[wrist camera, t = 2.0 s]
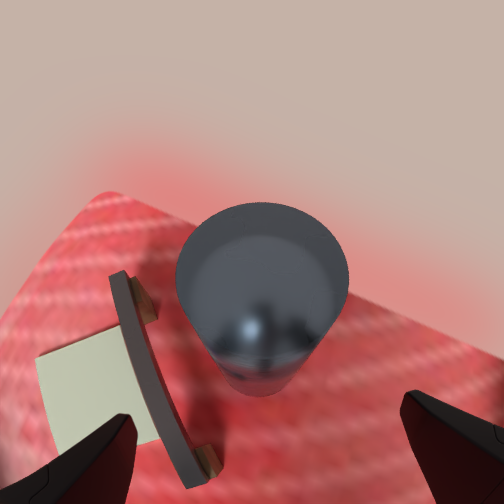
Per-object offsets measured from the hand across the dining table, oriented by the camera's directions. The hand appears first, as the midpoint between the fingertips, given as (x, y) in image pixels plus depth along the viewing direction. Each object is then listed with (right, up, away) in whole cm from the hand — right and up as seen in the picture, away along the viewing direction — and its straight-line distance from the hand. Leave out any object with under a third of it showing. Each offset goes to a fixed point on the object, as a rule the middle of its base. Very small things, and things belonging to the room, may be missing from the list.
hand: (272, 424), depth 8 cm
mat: (-13, -6, +10) cm, 17 cm away
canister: (0, -2, +12) cm, 12 cm away
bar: (-7, -2, +8) cm, 10 cm away
